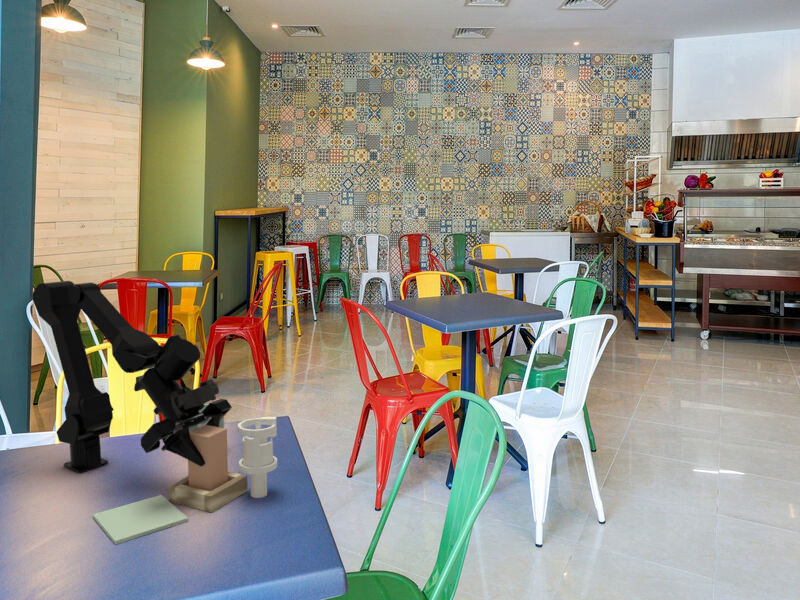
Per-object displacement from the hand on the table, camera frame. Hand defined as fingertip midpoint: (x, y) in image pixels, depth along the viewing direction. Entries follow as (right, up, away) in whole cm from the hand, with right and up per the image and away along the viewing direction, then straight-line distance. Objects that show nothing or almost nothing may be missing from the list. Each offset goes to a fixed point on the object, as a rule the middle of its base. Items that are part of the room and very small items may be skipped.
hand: (213, 459), depth 117 cm
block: (-1, -7, +2) cm, 7 cm away
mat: (-10, -8, -8) cm, 15 cm away
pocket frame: (-1, -7, +2) cm, 7 cm away
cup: (-9, -4, +24) cm, 26 cm away
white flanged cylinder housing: (+8, -7, +2) cm, 11 cm away
